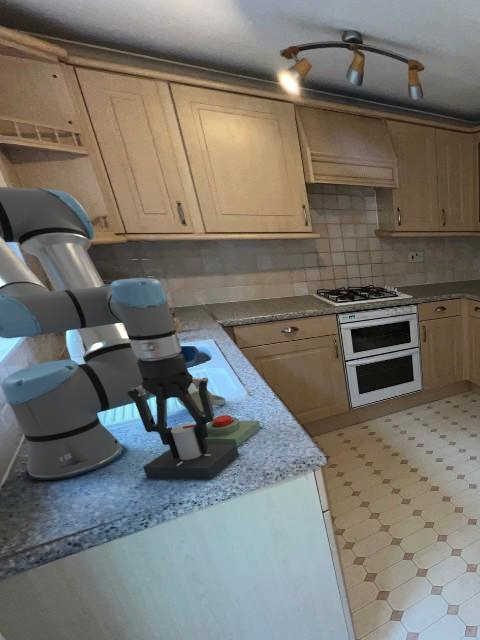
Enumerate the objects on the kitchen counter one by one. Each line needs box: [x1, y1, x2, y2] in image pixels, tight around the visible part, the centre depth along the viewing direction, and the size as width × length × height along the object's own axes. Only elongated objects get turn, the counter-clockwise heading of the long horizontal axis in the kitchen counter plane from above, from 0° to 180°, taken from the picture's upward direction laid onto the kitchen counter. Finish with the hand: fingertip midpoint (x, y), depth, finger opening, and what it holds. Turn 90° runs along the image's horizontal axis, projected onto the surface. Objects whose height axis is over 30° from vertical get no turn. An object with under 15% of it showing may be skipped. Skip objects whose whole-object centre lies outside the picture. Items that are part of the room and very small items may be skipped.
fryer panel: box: [142, 444, 240, 480], centre depth 93 cm, size 14×10×3 cm
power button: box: [213, 414, 232, 427], centre depth 105 cm, size 4×4×2 cm
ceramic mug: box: [176, 383, 226, 414], centre depth 121 cm, size 11×8×8 cm
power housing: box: [205, 416, 261, 447], centre depth 106 cm, size 12×10×4 cm
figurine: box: [169, 306, 183, 334], centre depth 200 cm, size 7×7×12 cm
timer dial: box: [171, 423, 203, 460], centre depth 91 cm, size 4×4×7 cm
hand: (191, 452), depth 92 cm, fingers closed on timer dial, 4 cm apart
